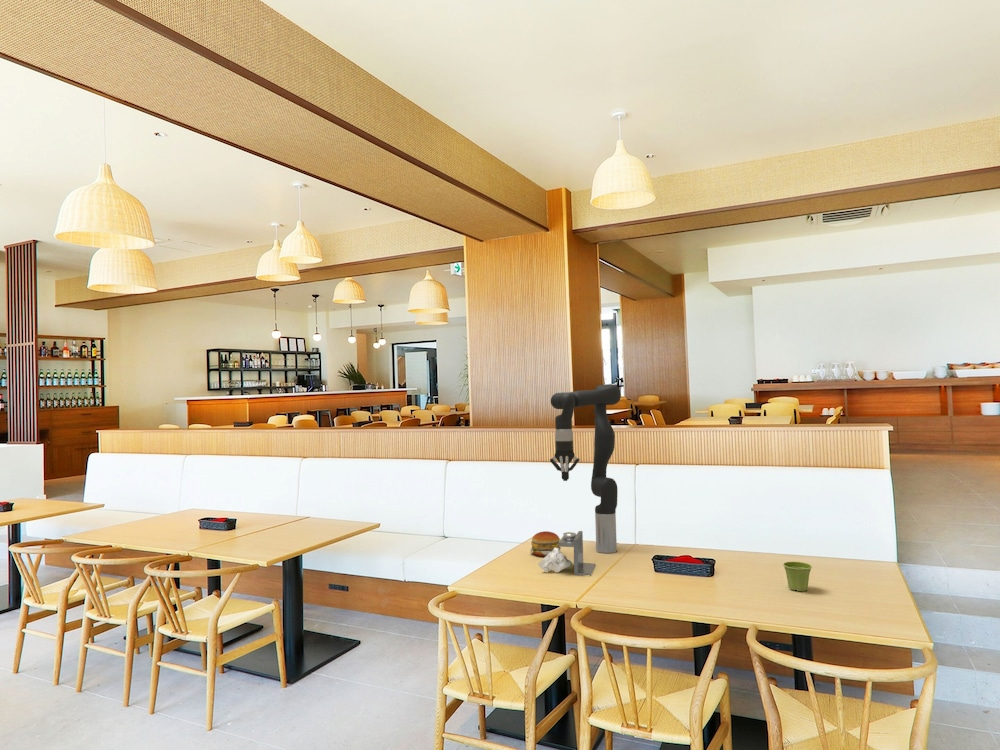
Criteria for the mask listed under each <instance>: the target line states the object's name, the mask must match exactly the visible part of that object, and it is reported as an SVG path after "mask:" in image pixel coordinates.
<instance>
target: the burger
mask: <svg viewBox="0 0 1000 750" xmlns="http://www.w3.org/2000/svg"><path fill="white" fill-rule="evenodd" d="M560 540H561V538H560V536H559V535H558V534H557V533H555V532H553V531H547V530H546V531H540V532H537V533H535V534H534V535H533V536H532V538H531V544H530V545H531V548H530V554H531V553H532V554H533V555H536V556H539V557H546V556H547V555H548V554H549V553H550V552H552V551H553V549H554V548H559V550H560V551H561V547H559V541H560Z"/></svg>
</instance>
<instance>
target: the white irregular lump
mask: <svg viewBox="0 0 1000 750" xmlns="http://www.w3.org/2000/svg"><path fill="white" fill-rule="evenodd" d="M537 565H538V567H540V569H542V570H543V571H544V572H545V573H547V574H549V571H550V570H551V571H552V570H553V571H554V572H555V573H556V572H558V573H560V572H561V571H562V570H564V569H568V568H569V567H571V566H573V562H572V561H571V560H570V559H568V558H567V556H566V555H564V554H563V553H562V552H561V549H560V550H559V548H554V549H553V551H552V552H550V553H549V554H548V555H547V556H544V558H543V559H541V561H540V562H539V563H538V564H537Z"/></svg>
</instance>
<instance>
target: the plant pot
mask: <svg viewBox="0 0 1000 750" xmlns="http://www.w3.org/2000/svg"><path fill="white" fill-rule="evenodd" d="M782 565H783V567H784V570H785V575H786V579H787V585H788V589H789V588H790V589H792V590H791V591H794V590H797V591H804V592H806V590H807V589H808V588H809V581H810V573H811V569H812V568H813V566H812V564H810V563H807V562H801V561H785V562H783V563H782ZM790 589H789V590H790ZM797 591H796V592H797ZM807 591H808V590H807Z"/></svg>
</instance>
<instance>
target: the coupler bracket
mask: <svg viewBox="0 0 1000 750" xmlns="http://www.w3.org/2000/svg"><path fill="white" fill-rule="evenodd" d="M583 537H584V536H583V530H578V532H570V531H569V532H568V531H567V532H563V536H562V537H561V538H560V541H559V547H560V548H563V547H564V548H573V568H574V569H573V575H574V576H580V575H590V576H589V577H592V575H591V574H593V572H594V570H593V569H595V567H596V563H593V562H584V542H583V540H584V539H583Z"/></svg>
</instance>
